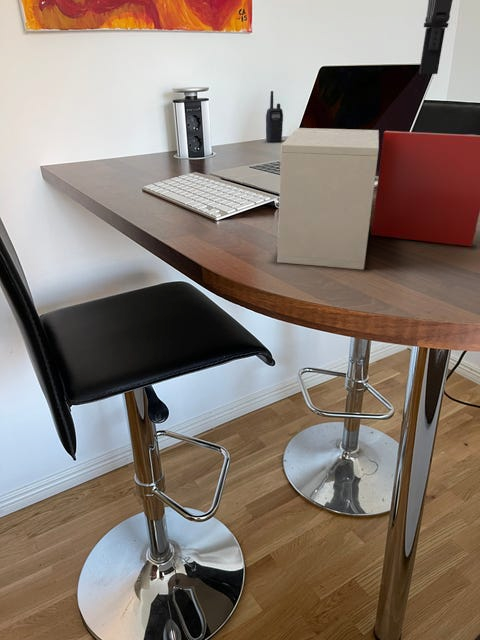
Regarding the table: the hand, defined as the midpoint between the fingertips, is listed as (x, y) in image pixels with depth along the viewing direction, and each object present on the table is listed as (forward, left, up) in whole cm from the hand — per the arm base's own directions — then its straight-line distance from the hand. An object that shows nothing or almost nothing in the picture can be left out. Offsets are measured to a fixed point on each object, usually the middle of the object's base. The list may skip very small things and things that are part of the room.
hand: (428, 73), depth 82 cm
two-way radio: (+38, -71, -23) cm, 83 cm away
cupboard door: (-2, +14, -23) cm, 27 cm away
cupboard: (+13, +23, -23) cm, 35 cm away
